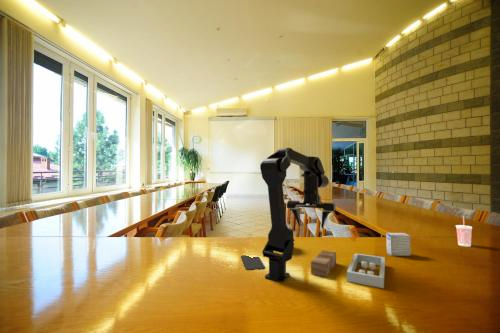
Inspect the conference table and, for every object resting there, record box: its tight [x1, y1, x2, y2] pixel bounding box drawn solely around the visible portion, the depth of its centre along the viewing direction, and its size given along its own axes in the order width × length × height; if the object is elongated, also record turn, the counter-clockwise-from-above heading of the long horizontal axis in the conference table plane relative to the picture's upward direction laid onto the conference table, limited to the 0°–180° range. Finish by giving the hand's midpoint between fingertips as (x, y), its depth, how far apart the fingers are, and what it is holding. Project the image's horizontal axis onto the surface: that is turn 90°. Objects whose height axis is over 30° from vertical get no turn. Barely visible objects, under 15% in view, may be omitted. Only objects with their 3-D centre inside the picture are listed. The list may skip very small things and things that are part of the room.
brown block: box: [310, 250, 337, 278], centre depth 91 cm, size 15×5×4 cm, turn 149°
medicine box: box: [385, 232, 412, 257], centre depth 106 cm, size 8×4×9 cm, turn 84°
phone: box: [240, 254, 266, 271], centre depth 97 cm, size 7×1×15 cm
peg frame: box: [346, 253, 386, 289], centre depth 87 cm, size 21×10×3 cm, turn 151°
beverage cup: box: [455, 215, 473, 248], centre depth 120 cm, size 6×6×14 cm
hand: (310, 227), depth 101 cm, fingers open, 9 cm apart
